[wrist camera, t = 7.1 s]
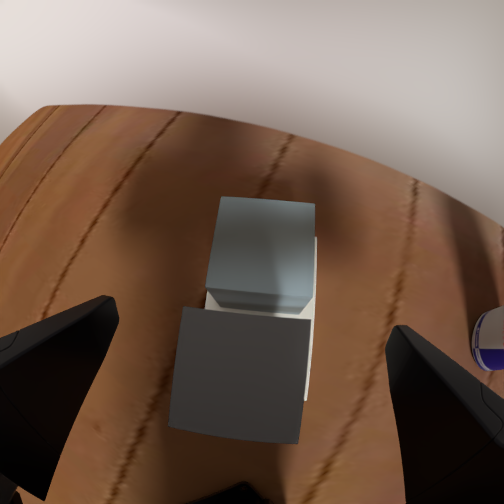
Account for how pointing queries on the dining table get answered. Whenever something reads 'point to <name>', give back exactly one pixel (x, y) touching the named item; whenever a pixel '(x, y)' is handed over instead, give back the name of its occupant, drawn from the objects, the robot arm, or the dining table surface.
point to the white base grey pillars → (242, 372)
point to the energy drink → (489, 340)
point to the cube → (262, 255)
